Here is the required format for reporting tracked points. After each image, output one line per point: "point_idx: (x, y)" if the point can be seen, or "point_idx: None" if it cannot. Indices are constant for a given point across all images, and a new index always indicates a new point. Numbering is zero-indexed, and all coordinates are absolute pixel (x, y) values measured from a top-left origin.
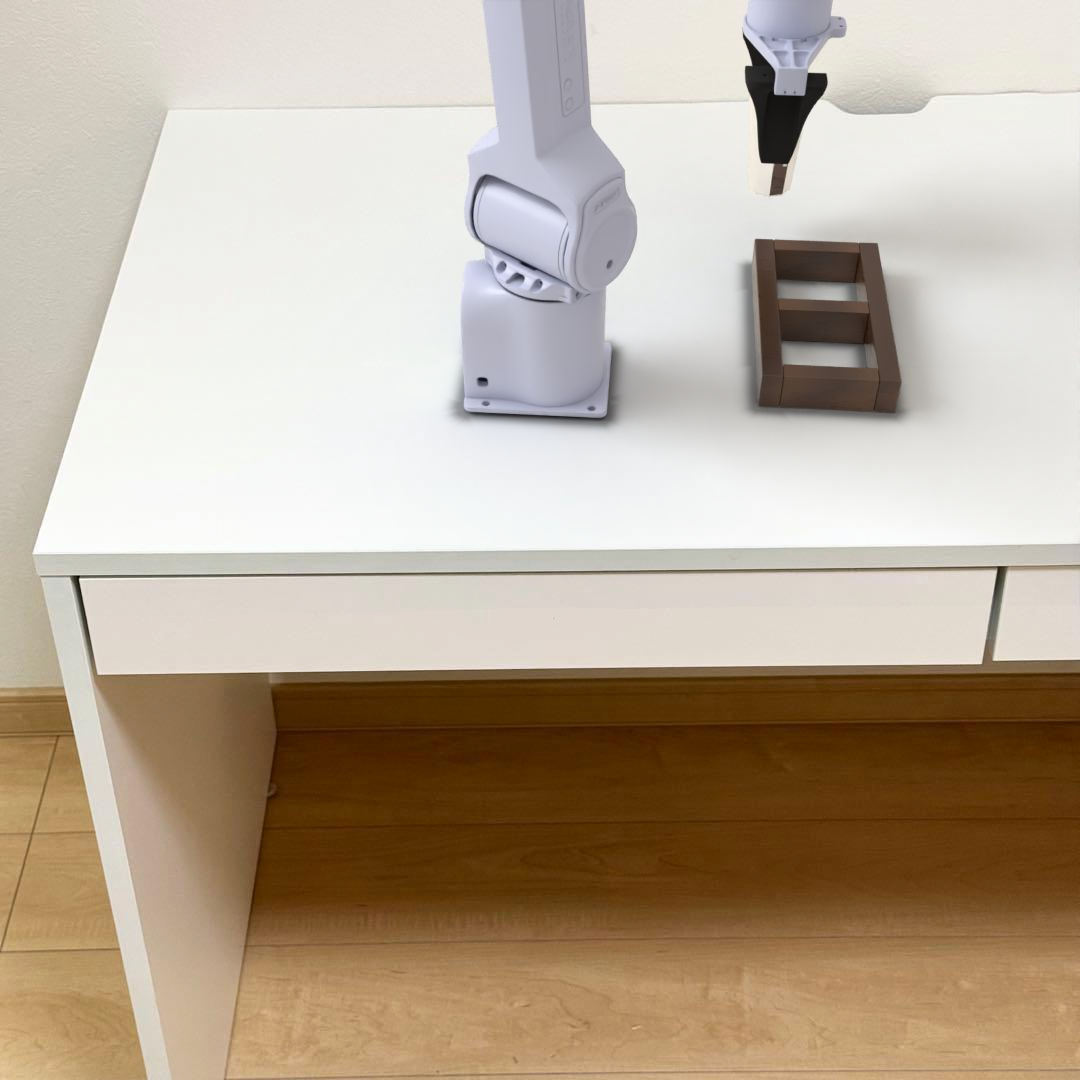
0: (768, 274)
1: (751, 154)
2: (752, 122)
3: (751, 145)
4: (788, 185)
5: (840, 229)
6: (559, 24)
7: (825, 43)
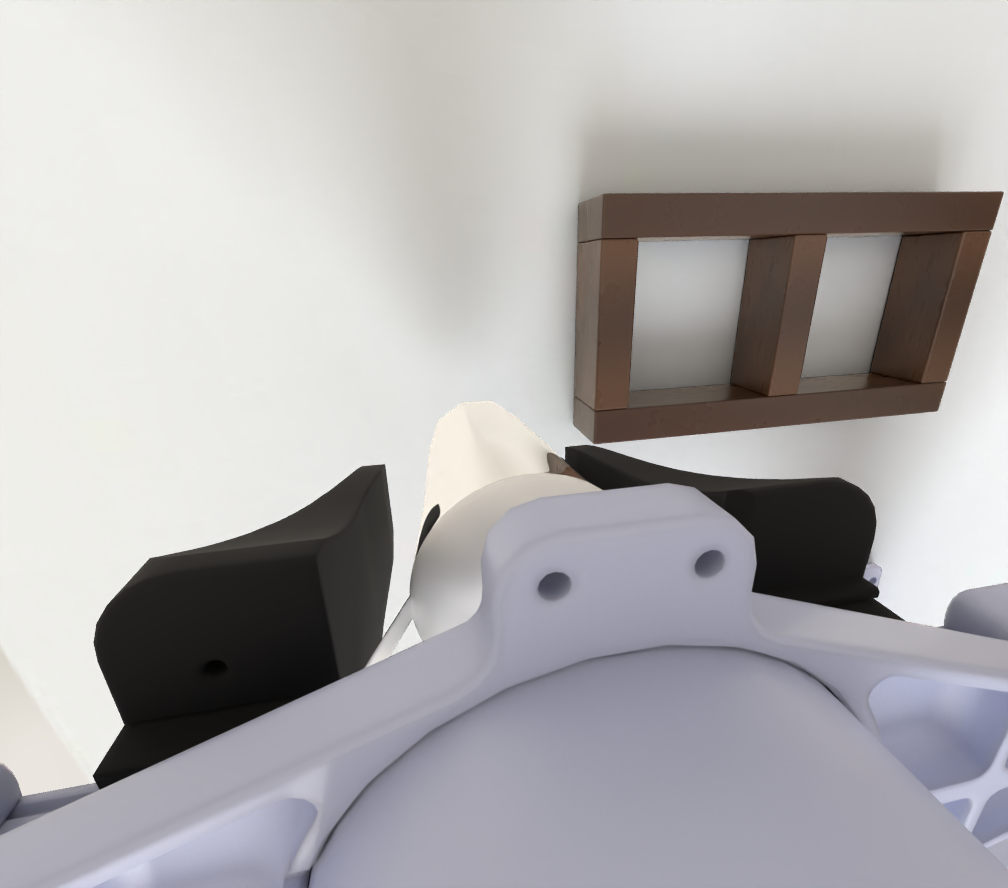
0: (704, 415)
1: None
2: None
3: None
4: (503, 409)
5: (425, 260)
6: None
7: (777, 598)
